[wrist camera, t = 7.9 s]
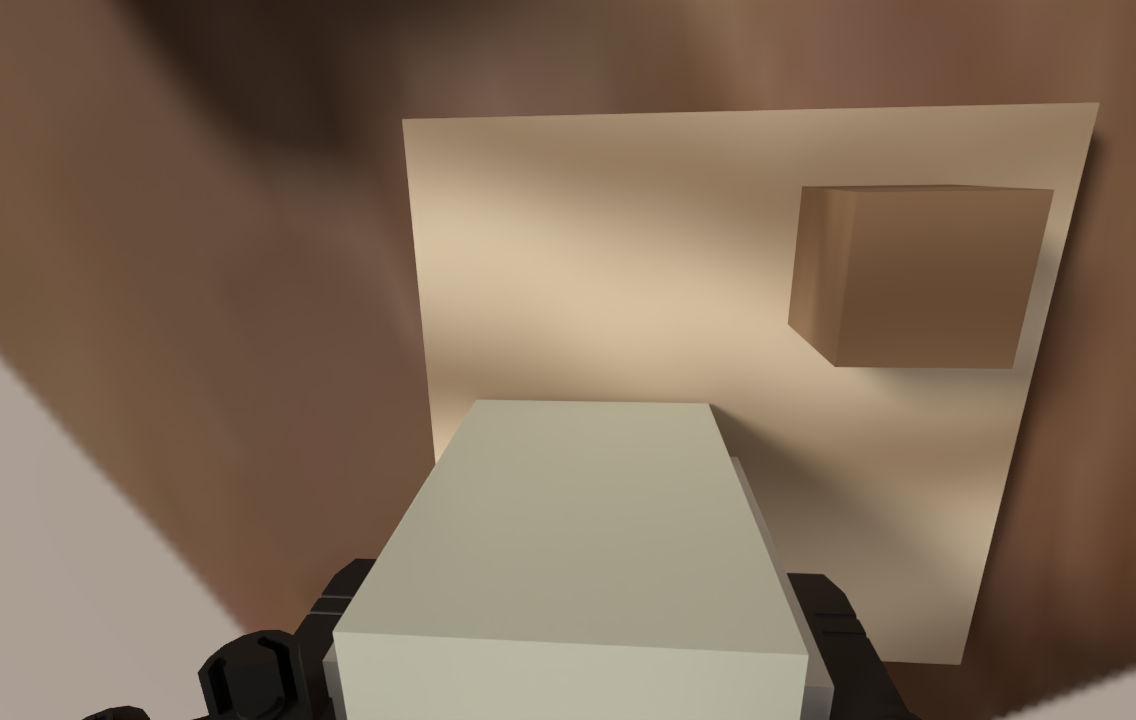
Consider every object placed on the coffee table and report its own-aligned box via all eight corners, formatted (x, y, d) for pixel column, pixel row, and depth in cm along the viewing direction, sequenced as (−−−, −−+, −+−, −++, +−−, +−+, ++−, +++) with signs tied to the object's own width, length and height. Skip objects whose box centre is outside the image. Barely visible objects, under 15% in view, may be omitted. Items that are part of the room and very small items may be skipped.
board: (420, 123, 14) (339, 104, 10) (1055, 108, 13) (1260, 80, 9) (463, 611, 18) (419, 736, 14) (936, 631, 17) (1035, 773, 13)
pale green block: (476, 399, 14) (332, 631, 7) (707, 403, 14) (808, 655, 7) (488, 590, 16) (383, 933, 9) (695, 598, 16) (764, 967, 8)
